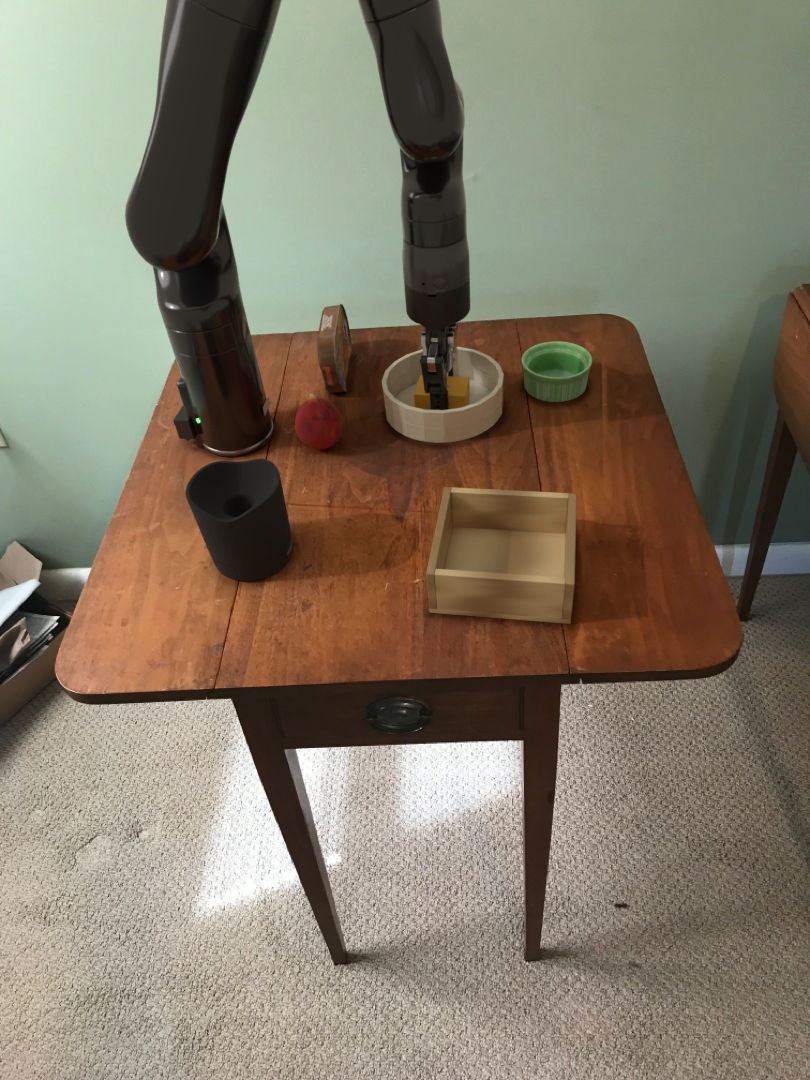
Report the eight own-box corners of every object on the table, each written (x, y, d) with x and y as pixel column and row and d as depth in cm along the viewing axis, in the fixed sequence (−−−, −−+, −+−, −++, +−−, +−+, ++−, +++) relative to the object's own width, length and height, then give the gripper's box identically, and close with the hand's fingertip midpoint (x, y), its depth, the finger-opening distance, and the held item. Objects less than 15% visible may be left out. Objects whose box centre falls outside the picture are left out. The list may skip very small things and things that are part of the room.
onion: (353, 438, 97) (345, 383, 92) (336, 465, 93) (326, 411, 88) (311, 432, 99) (301, 378, 93) (293, 459, 95) (280, 404, 90)
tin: (346, 404, 103) (337, 348, 97) (323, 405, 103) (312, 349, 97) (354, 346, 114) (346, 292, 108) (333, 347, 114) (324, 294, 108)
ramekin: (569, 363, 106) (572, 335, 103) (602, 397, 99) (605, 367, 96) (509, 379, 104) (510, 350, 101) (538, 414, 98) (540, 384, 95)
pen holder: (250, 599, 79) (226, 528, 72) (193, 560, 83) (166, 490, 77) (315, 547, 83) (299, 476, 77) (258, 513, 88) (238, 443, 81)
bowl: (375, 443, 96) (371, 410, 93) (397, 377, 107) (393, 345, 103) (497, 448, 93) (497, 414, 90) (507, 380, 104) (507, 347, 101)
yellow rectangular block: (415, 414, 98) (413, 394, 96) (420, 394, 102) (419, 375, 99) (465, 416, 97) (465, 396, 95) (469, 396, 100) (469, 376, 98)
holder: (429, 612, 76) (425, 573, 72) (446, 525, 84) (444, 486, 80) (570, 624, 73) (574, 584, 69) (572, 533, 82) (576, 493, 78)
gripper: (414, 247, 93) (422, 370, 105) (392, 304, 83) (404, 433, 95) (476, 247, 91) (477, 372, 103) (461, 304, 81) (465, 435, 93)
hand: (442, 400), depth 99 cm, fingers closed on yellow rectangular block, 4 cm apart
